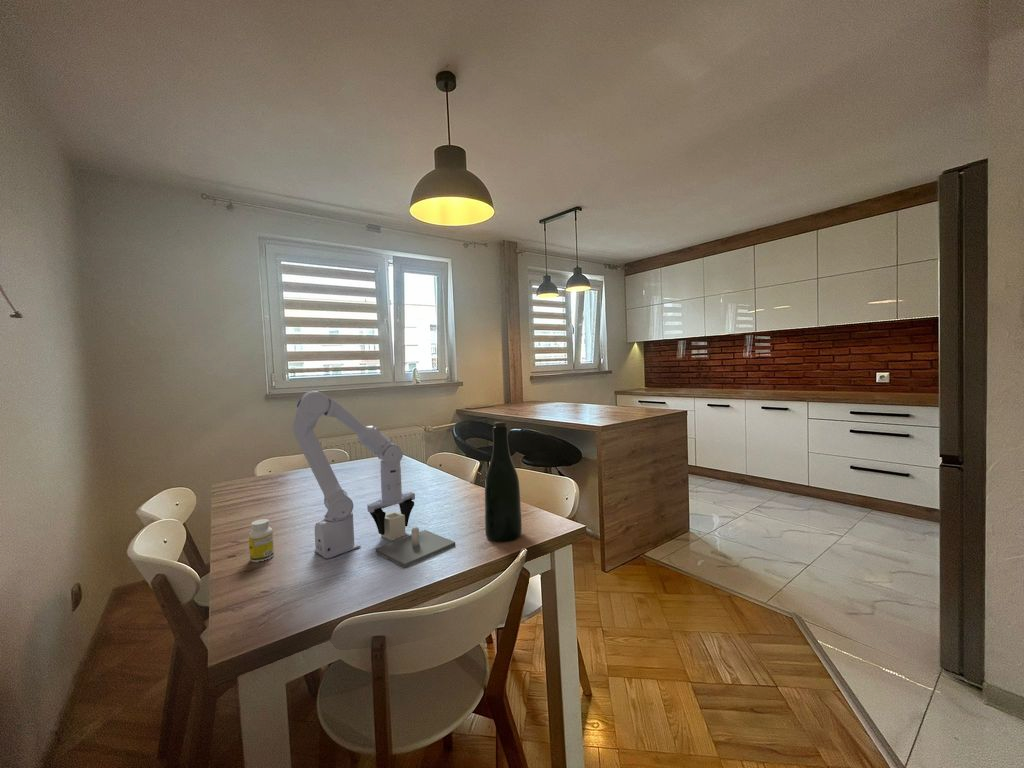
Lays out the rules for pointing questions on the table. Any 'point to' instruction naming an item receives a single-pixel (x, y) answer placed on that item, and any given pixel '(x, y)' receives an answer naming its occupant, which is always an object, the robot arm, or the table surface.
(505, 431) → the green wine bottle
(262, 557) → the supplement bottle
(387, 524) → the sleeve
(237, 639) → the table surface
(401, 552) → the post board
